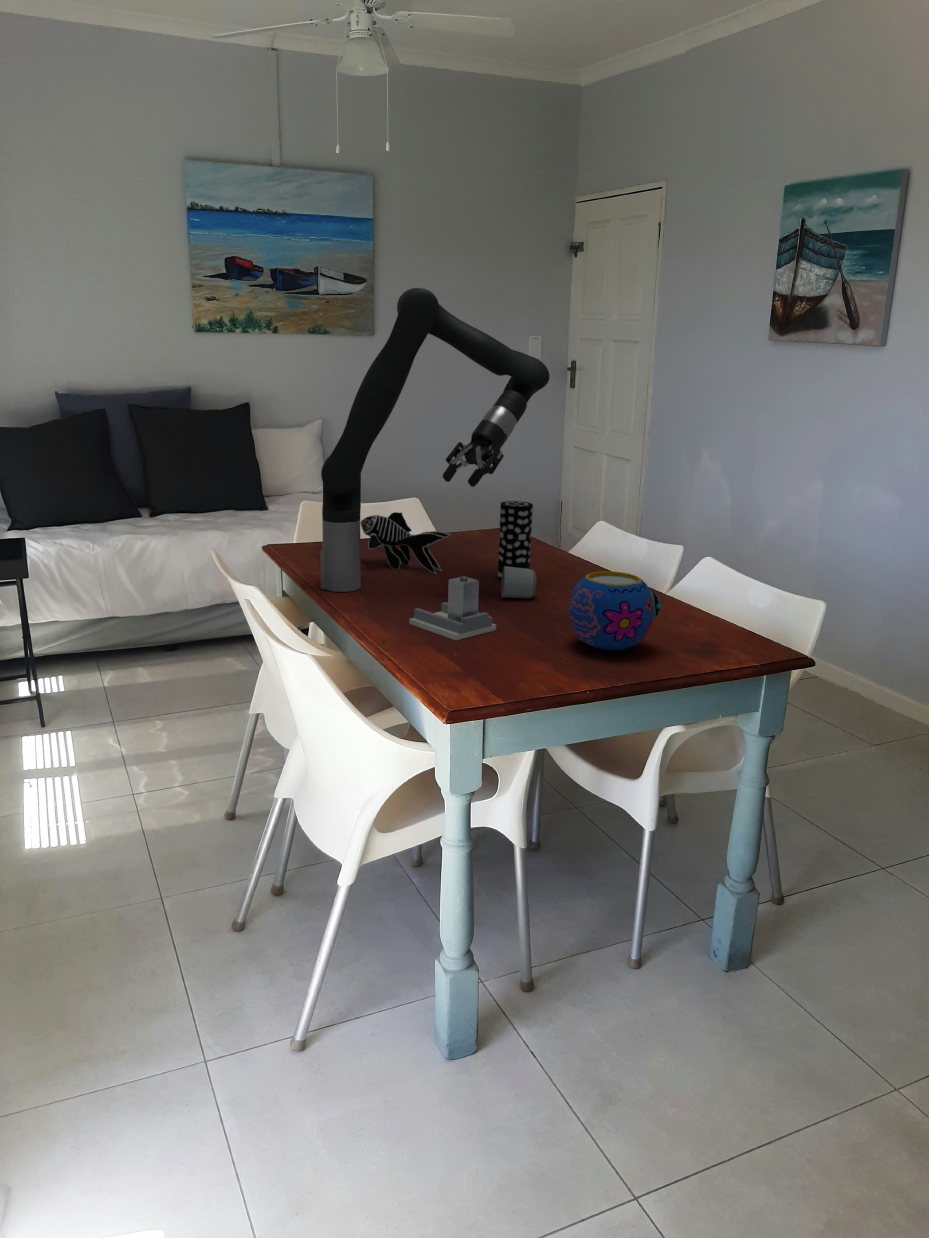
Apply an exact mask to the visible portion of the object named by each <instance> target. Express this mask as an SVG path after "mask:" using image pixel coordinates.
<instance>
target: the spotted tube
mask: <svg viewBox="0 0 929 1238" xmlns="http://www.w3.org/2000/svg"><path fill="white" fill-rule="evenodd" d="M533 509H534V504H533V503H532V502H527V501H521V500H520V501H519V500H509V501H508V500H506V501H502V502H500V513H499V530H498V531H499V533H498V535H499V536H498V557H497V577H496V578H497V580H498V581H499V582H502V574H503V568H504V566H507V567H516V568H525V569H531V568H530V567H531V550H532V549H531V546H532V532H533V531H532V529H533V512H534V511H533Z"/></svg>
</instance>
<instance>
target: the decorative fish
mask: <svg viewBox="0 0 929 1238" xmlns="http://www.w3.org/2000/svg"><path fill="white" fill-rule="evenodd" d="M360 528H361V529H362V532H363V533H364V534H365V536H368V537H369V540H368V542H367V547H368V549H369V550H374V549H377V548H379V547H381V546H382V547H383V550H384V553H385V557H386V560H387V563H388V565H389V567H390V568H391V569H393V570H395V571H396V570H399V569H400V566H401V564H402V565H404V566H409V565H410V563H412V559H411V558H412V556H411V552H412V555H413V556H414V558H415V559H416V560H417V562H418V563H419V565H421V566H422V567H423V568H425V569H426V570H427V571H428V572H430V573H431V574H433V573H435V574H434V575H436V574H437V575H438V573H437V572H436V570H437V571H439V572H442V571H443V572H444V570H443V569H442V568H441V565H440V564H439V562H438V560H437V559H436V558H435V556H434V554H433V553H432V551H431V550H430V546H432V545H433V544H435V543H438V542H441V541H442V540H443V539H447V538H449V537H450V536H454V534H453V533H449V532H445V531H440V530H432V531H423V532H420V533H417V534H411V533H410V532H412V528H411V527H410V526H409V525H408V523H407V522H406V519H405V518H404V516H403V512H402V511H401V512H397V511H394V512H391V513H390V514H389V516H385V515H380V514H375V515H374V514H373V515H368V516H366V517H365V518H363V519H362V520H360ZM397 546H398V547H399V548H398V547H397Z"/></svg>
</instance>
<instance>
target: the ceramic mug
mask: <svg viewBox="0 0 929 1238" xmlns="http://www.w3.org/2000/svg"><path fill="white" fill-rule="evenodd" d="M536 589H537V571H535V570H534V569H531V568H530V569H525V568H516V567H507V566H504V568H503V574H502V581H501V590H500V591H501V593H500V594H501V597H502V599H532V598H534V597H535V595H536V591H537V590H536Z"/></svg>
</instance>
